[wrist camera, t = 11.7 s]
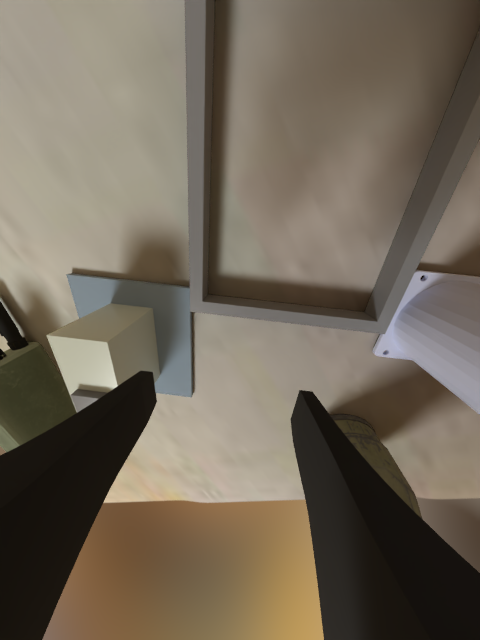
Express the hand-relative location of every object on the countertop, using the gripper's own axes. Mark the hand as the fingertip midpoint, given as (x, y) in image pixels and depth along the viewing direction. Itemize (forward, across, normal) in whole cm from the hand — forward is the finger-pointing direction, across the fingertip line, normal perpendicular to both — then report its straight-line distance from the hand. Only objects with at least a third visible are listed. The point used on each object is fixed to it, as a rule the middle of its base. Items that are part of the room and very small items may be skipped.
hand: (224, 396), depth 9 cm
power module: (+9, +10, +4) cm, 14 cm away
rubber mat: (+9, +10, +4) cm, 14 cm away
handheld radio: (+10, +21, +12) cm, 27 cm away
